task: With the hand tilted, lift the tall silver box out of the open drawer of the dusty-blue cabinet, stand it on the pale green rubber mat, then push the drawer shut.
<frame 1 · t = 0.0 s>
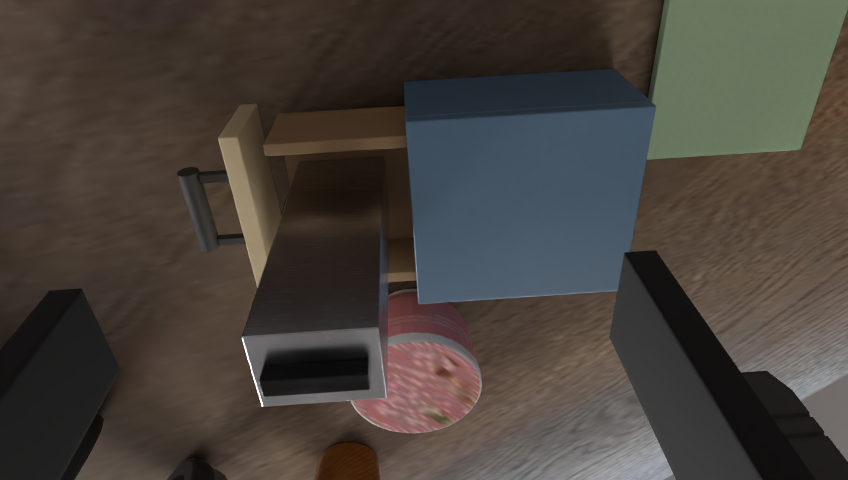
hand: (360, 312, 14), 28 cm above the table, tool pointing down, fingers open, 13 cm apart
headphones: (139, 442, 58), on the table
cabinet: (506, 164, 43), on the table
drawer: (317, 200, 39), point 4 cm above the table, slide at 10.0 cm, touching silver box
mat: (739, 57, 39), on the table
silver box: (345, 186, 41), point 2 cm above the table, touching drawer
disposable coffee cup: (349, 459, 61), on the table
container: (412, 320, 51), on the table
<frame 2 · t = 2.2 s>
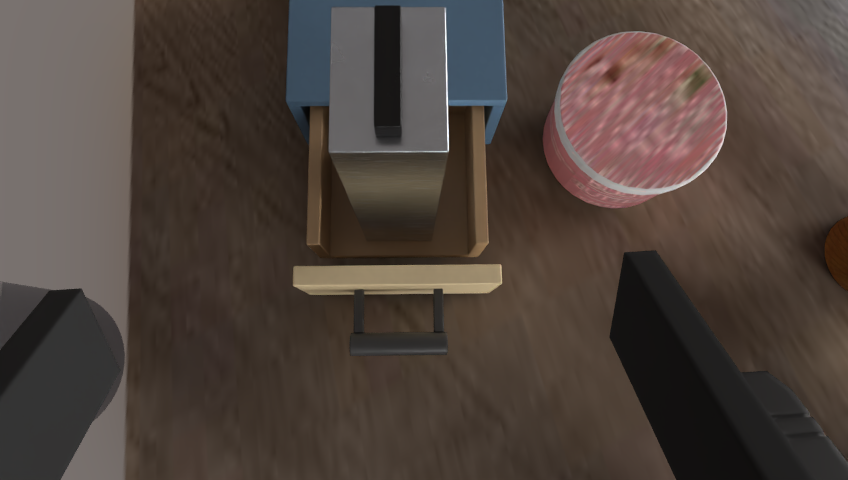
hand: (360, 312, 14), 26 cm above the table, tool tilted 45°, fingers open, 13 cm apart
cabinet: (399, 54, 43), on the table
drawer: (398, 218, 37), point 4 cm above the table, slide at 10.0 cm, touching silver box
silver box: (399, 199, 39), point 2 cm above the table, touching drawer
container: (599, 153, 42), on the table
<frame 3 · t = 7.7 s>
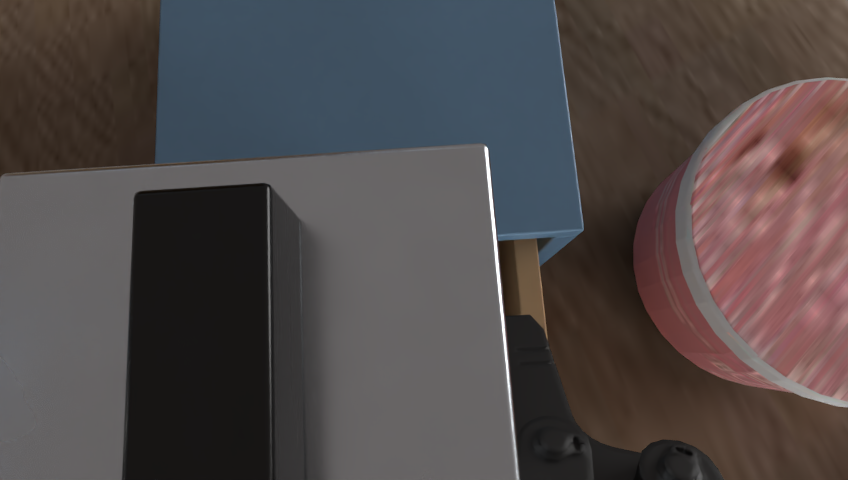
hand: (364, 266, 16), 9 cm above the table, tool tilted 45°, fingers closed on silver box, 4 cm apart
cabinet: (377, 125, 27), on the table
drawer: (387, 445, 20), point 4 cm above the table, slide at 10.0 cm, touching silver box
silver box: (388, 390, 22), point 2 cm above the table, touching drawer, gripper
container: (721, 273, 25), on the table
when the fingers open (8 cm above the table, at t = 19.8 s): silver box stays where it is, resting on mat.
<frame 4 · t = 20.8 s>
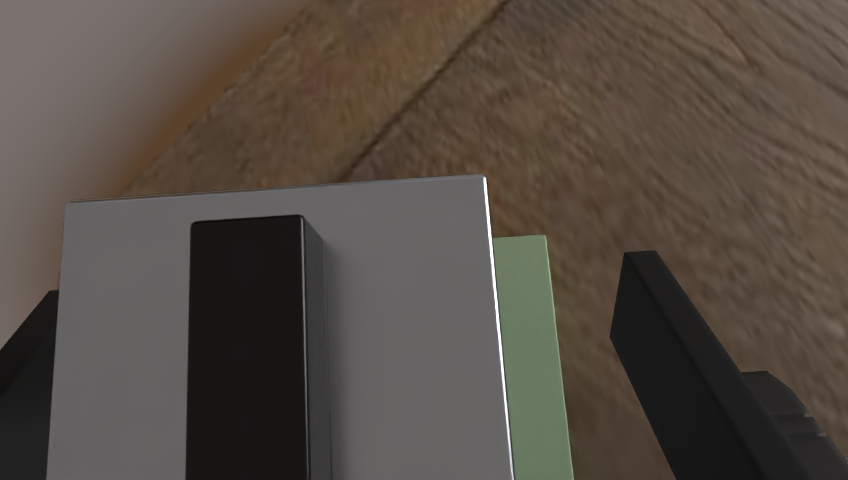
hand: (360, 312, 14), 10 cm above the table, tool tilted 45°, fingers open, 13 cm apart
mat: (392, 388, 24), on the table
silver box: (392, 389, 23), point 1 cm above the table, touching mat
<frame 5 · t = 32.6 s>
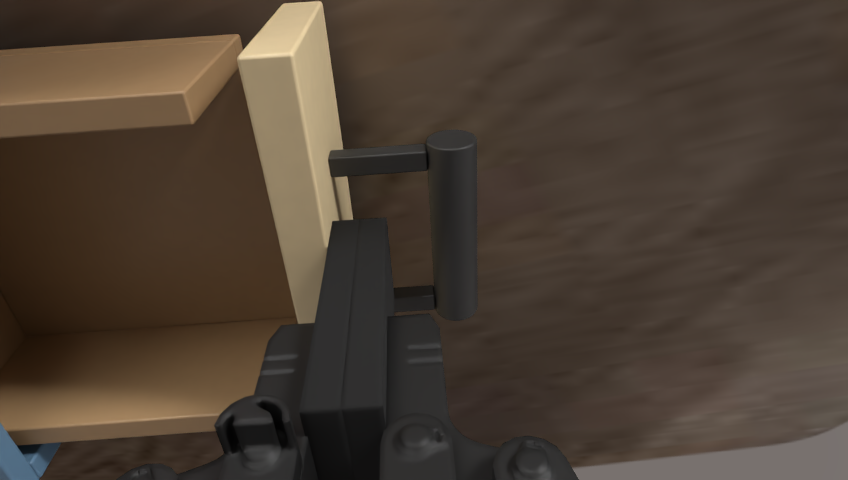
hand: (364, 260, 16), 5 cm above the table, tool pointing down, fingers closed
drawer: (190, 243, 17), point 4 cm above the table, slide at 9.4 cm, touching gripper
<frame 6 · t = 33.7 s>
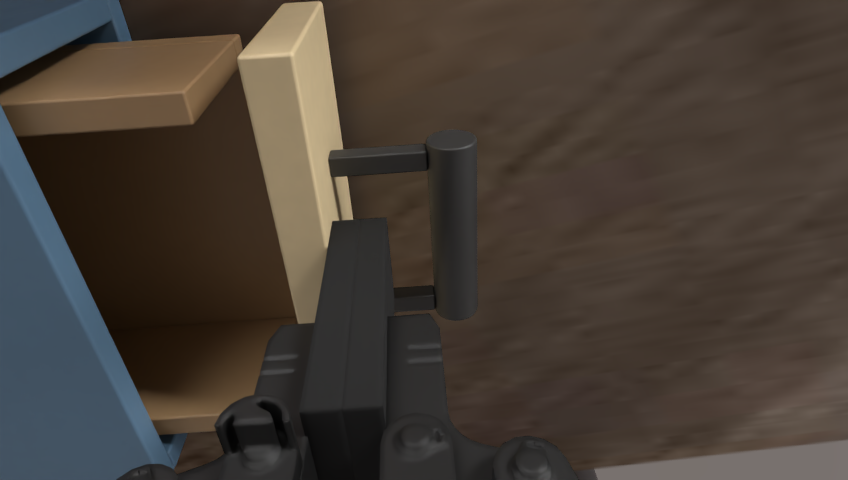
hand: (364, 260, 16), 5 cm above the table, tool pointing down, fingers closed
drawer: (190, 243, 17), point 4 cm above the table, slide at 5.0 cm, touching gripper
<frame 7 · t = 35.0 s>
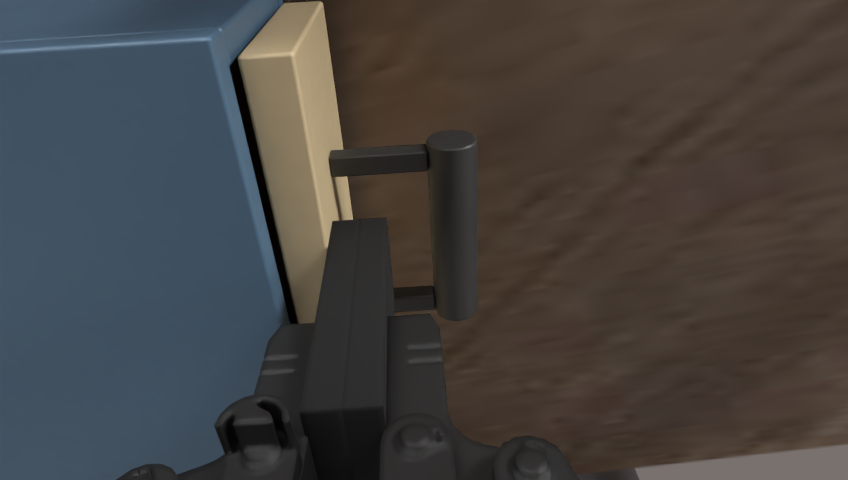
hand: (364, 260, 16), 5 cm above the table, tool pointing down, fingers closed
cabinet: (113, 192, 21), on the table
drawer: (190, 242, 17), point 4 cm above the table, slide at 0.1 cm, touching gripper
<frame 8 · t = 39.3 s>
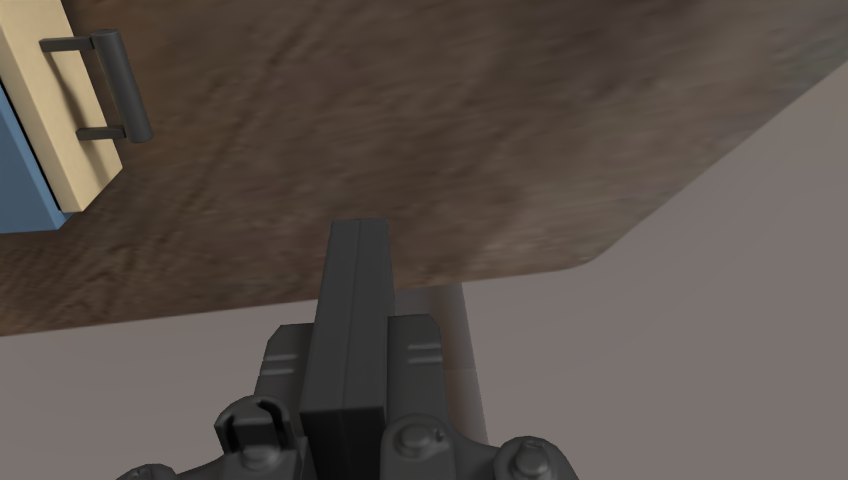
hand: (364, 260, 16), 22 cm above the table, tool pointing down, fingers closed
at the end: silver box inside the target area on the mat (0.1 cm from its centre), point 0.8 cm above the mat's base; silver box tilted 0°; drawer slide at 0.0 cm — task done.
